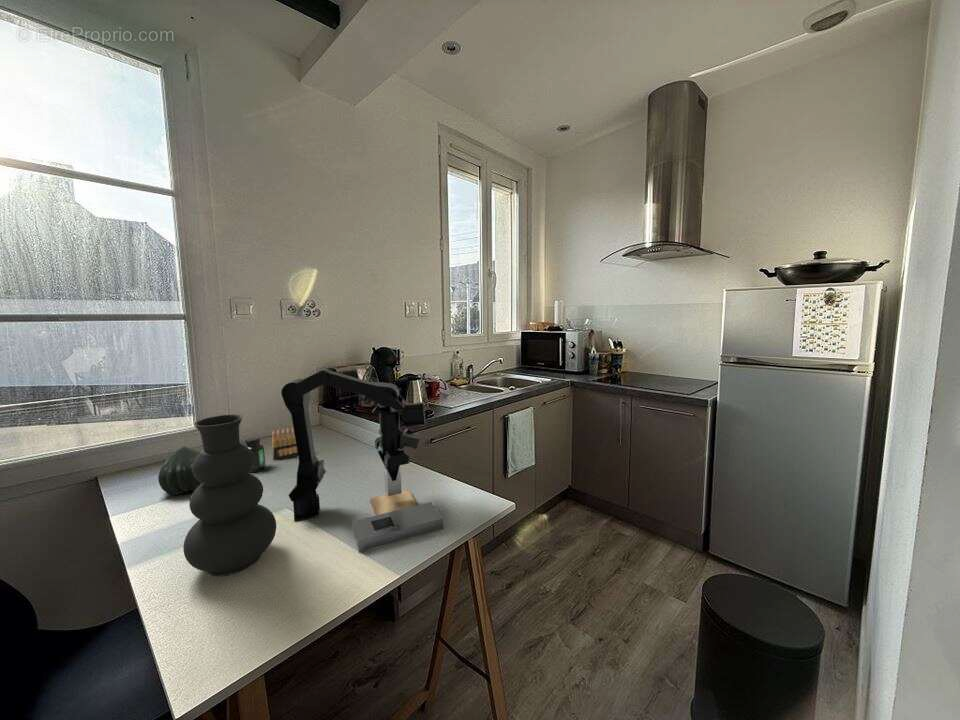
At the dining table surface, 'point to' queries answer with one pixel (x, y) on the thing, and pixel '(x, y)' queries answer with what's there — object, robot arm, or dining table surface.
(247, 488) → the vase
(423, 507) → the rail
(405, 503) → the oak pad
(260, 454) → the supplement bottle
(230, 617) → the dining table surface
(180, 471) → the squash
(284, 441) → the ammunition clip
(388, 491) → the brushed metal block
